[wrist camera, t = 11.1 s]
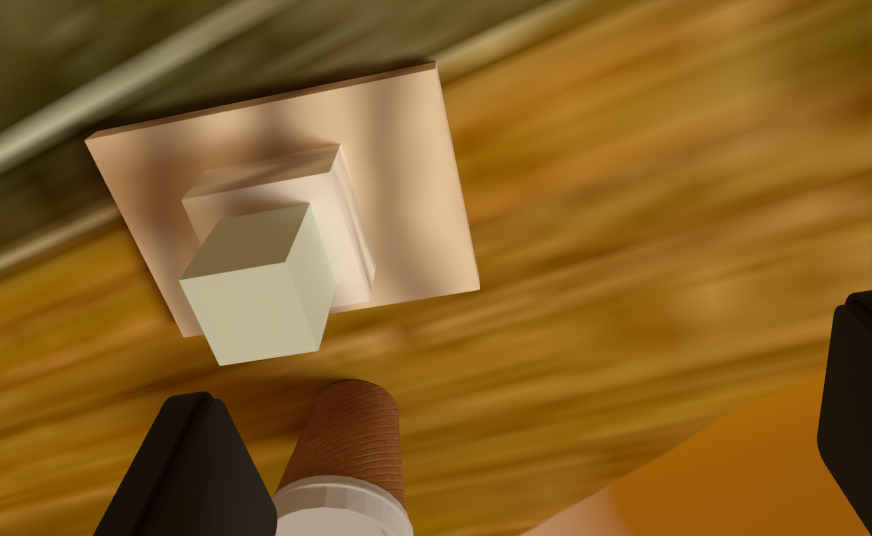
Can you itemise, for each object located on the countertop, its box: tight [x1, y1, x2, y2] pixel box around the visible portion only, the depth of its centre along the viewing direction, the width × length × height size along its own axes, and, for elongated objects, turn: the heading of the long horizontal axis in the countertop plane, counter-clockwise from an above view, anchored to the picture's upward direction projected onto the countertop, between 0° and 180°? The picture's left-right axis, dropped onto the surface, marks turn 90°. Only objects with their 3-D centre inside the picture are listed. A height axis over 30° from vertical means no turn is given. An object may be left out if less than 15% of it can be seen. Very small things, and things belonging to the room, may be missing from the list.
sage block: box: [179, 203, 337, 366], centre depth 32 cm, size 5×5×6 cm
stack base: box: [84, 62, 480, 337], centre depth 37 cm, size 20×14×6 cm
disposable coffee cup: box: [271, 380, 413, 536], centre depth 43 cm, size 10×10×12 cm
